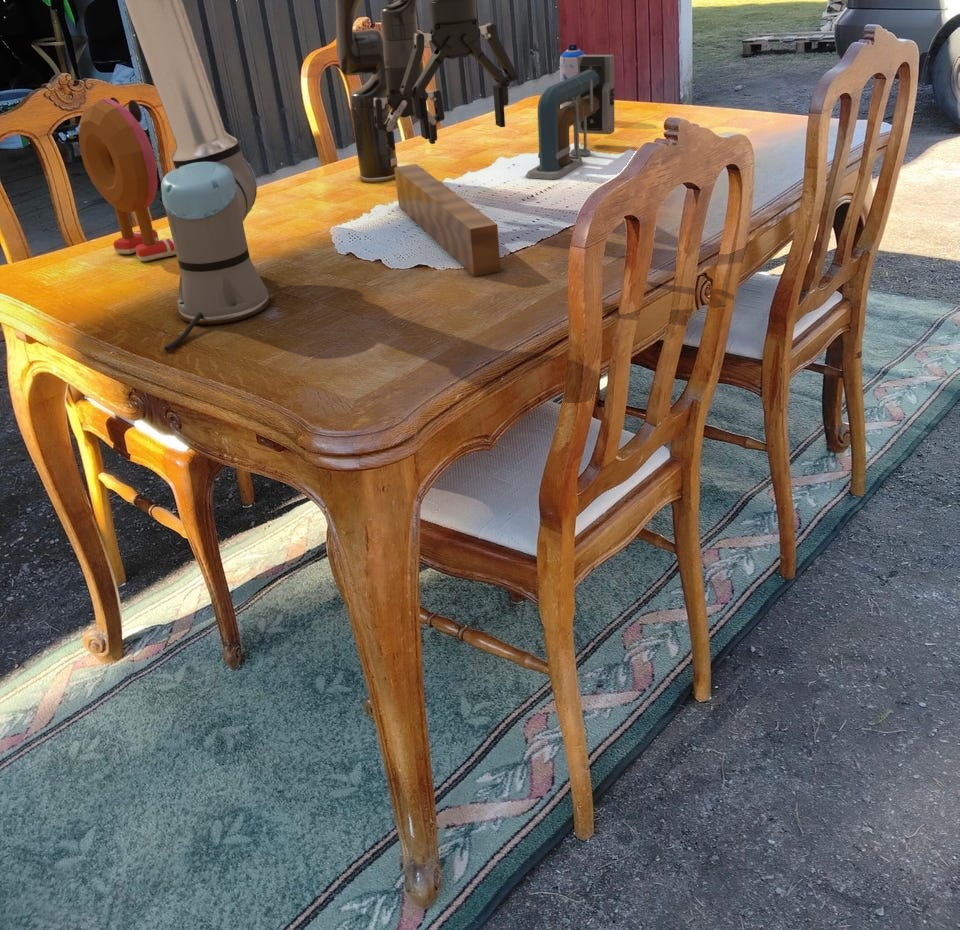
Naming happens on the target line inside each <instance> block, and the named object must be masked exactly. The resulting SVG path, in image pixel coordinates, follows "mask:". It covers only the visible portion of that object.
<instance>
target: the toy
mask: <svg viewBox="0 0 960 930" xmlns="http://www.w3.org/2000/svg"><path fill="white" fill-rule="evenodd" d="M127 105H128V108H126V107H125V106H123V105H122V104H121V103H120V101H119V100H118V98H116V97H115V96H112V97H110V98H107V97H103V98H101V99H99V100H97V101H95V102H93V103H91V104H89V105H88V106H86V107H85V108H84V109H83V110H82V114H81V116H80V120H79V124H78V146H79V152H80V155H81V156H80V157H81V160H82V163H83V166H84V169H85V171H86V173H87V175H88V177H89V179H90V181H91V184H93V186H94V187H95V189H96V190H97V191H98V193H99V194H100V195H101V196H102V198H104V200H105V201H106V202H107V203H108V204H109V205H111V206H112V207H113V209H114V212H115V215H116V218H117V223H118V226H119V230H120V234H121V237H120V238H118V239H116V240H114V241H113V248H114V252H115V253H117V254H122V255H130V254H134V253H135V254H136V257H137V259H138V260H139V261H141V262H147V261H148V262H149V261H153V260H157V259H164V258H167V257H172V256H177V255H176V251H175V246H174V242H173V238H172V237H169V238H165V239H160V238H159V234H158V232H157V230H156V229H154V228H153V224H152V219H151V215H150V212H149V209H148V208H149V207H150V206H151V205H152V203H153V202H154V200H155V198H156V195H157V190H158V166H157V160H156V157H155V153H154V150H153V147H152V144H151V142H150V140H149V139H150V138H149V137H148V135H147V133H146V131H145V129H144V128H143V126H142V125H141V122H142V119H143V118H142V115H143V113H142V110H141V107H140V106H139V104H138V102H137V101H136V100H134V99H131V100H129V101H128V104H127ZM133 212H135V215H136V219H137V223H138V227H139V229H138V230H136V231H134V230H133V226H132V225H133V224H132V220H131V217H130V213H133Z"/></svg>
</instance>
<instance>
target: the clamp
mask: <svg viewBox="0 0 960 930" xmlns="http://www.w3.org/2000/svg"><path fill="white" fill-rule="evenodd" d="M577 58H578V74H577V75H575V76H573V77H570V78H568V79H566V80H564V81H562V82H560V81H559V82H558V83H555V84H553V85H551V86H549V87H547V88H546V90H545V91H544V92H543V93H542V94H541V96H540V98H539V100H538V103H537V130H538V131H537V132H538V133H537V134H538V154H537V157H538V159H539V164H538V165H536V166H535V167H533V168H531V169H530V170H528V171H527V172H526V174H525V177H526V178H530V179H545V180H557V179H561V178H562V177H563V176H565V175H566V174H569V173H570V172H571V171H573V170H574V169H575V170H576V169H577V168H578V167H580V166H581V165H583V164H585V163H584V161H583V158H582V156H589V155H590V154H591V153H592V152H591V150H590V149H589V148H588V147H587V146H588V143H587V140H588V139H587V136H588V135H590V134H592V135H611V134H613V133H615V55H614V54H585V55H580V56H578V57H577ZM571 101H572V102H573V103H571V104H569V105H567V106H565V107H563V108H561V104H563V103H565V102H571ZM571 127H573V149H571V146H570V145H571V144H570V128H571ZM580 134H583V148H580Z"/></svg>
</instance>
